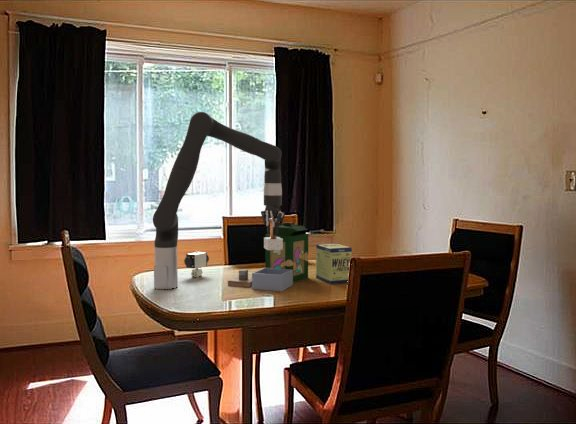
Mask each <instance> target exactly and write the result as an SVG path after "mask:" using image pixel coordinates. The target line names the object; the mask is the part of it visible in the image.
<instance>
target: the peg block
mask: <svg viewBox="0 0 576 424" xmlns="http://www.w3.org/2000/svg"><path fill="white" fill-rule="evenodd" d="M275 224H276V221H275ZM263 248H264V249H267V250H283V239H282V238H280V237H277V236H273V223H272V221H270V237H263Z"/></svg>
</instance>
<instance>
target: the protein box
mask: <svg viewBox="0 0 576 424" xmlns="http://www.w3.org/2000/svg"><path fill="white" fill-rule="evenodd" d="M315 250H316V257H315V258H316V259H315V260H316V261H315V279H318V280H320V281H323V282H324V281H325V283H326V284H329V283H330V284H329V285H335V284H334V283H338V284H347V281H348V273H349V263H350V259H351V258H352V254H353V249H352V247H351V246H347V245H343V244H339V243H323V244H322V243H321V244H320V243H319V244H316V249H315Z"/></svg>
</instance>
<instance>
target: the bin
mask: <svg viewBox="0 0 576 424" xmlns="http://www.w3.org/2000/svg"><path fill="white" fill-rule="evenodd" d="M251 278H252V286H251V288H252V290H260V291H261V290H262V291H273V292H274V291H275V292H283V291H285V290H287V289H288V288H290V287H292V286H293V285H294V282H293V270H289V269H275V268H265V267H263V268H261V269H258V270H256V271H254V272H252V273H251Z"/></svg>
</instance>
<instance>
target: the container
mask: <svg viewBox="0 0 576 424" xmlns="http://www.w3.org/2000/svg"><path fill="white" fill-rule="evenodd" d="M307 231H308V229H307V228H306V226H304V224H303V225H302V224H292V223H290V222H289V223H288V222H286V223H285V222H282V225H281V226H279V227H278V236H277V237H280V238H282V239H283V250H267V249H265V248H264V249H265V252H264V253H265V254H264V255H265V260H264V261H265V264H264V265H265V267H264V268H275V269H289V270H293V283H294V282H298V281H302V280H306V279H308V278H309V233H307ZM265 237H270V235H268V233H266V234H265ZM265 237H264V238H265Z"/></svg>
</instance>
